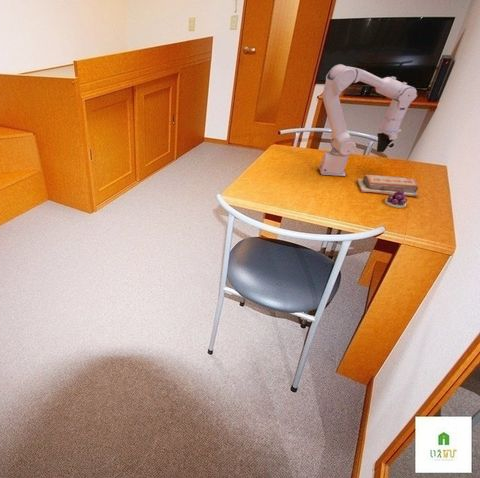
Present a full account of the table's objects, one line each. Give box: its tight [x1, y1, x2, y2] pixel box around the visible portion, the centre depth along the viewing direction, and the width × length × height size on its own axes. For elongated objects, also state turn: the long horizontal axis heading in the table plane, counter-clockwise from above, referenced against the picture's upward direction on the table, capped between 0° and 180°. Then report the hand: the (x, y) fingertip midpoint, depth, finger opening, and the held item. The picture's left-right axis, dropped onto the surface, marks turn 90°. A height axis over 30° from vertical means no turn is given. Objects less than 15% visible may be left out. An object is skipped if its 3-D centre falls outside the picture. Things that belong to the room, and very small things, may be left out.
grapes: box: [384, 187, 408, 209], centre depth 116 cm, size 6×6×7 cm
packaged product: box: [356, 174, 419, 198], centre depth 126 cm, size 18×5×10 cm
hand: (379, 151), depth 135 cm, fingers closed
